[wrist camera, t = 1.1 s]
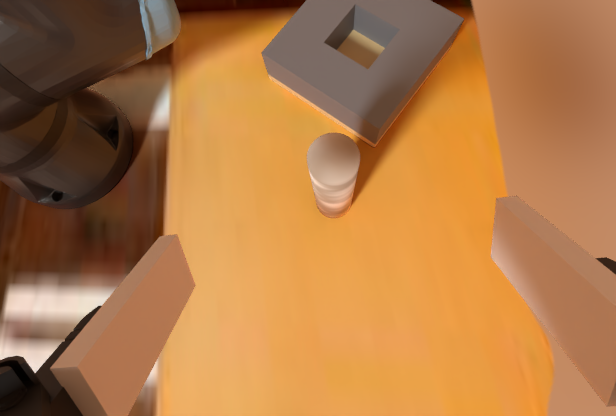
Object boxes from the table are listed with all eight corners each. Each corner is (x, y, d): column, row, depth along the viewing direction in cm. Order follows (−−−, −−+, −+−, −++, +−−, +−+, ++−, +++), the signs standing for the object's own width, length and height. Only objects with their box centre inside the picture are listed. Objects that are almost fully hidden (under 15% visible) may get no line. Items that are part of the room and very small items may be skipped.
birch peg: (309, 204, 40) (296, 163, 26) (330, 177, 40) (327, 123, 26) (337, 225, 39) (339, 193, 25) (358, 197, 39) (370, 151, 26)
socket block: (269, 78, 43) (261, 52, 39) (344, -11, 45) (345, -46, 41) (374, 147, 40) (379, 129, 36) (449, 49, 42) (464, 18, 38)
